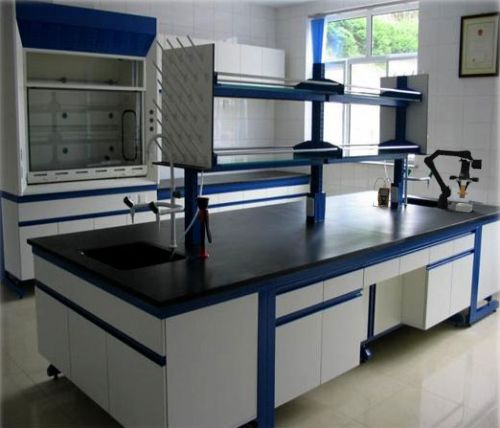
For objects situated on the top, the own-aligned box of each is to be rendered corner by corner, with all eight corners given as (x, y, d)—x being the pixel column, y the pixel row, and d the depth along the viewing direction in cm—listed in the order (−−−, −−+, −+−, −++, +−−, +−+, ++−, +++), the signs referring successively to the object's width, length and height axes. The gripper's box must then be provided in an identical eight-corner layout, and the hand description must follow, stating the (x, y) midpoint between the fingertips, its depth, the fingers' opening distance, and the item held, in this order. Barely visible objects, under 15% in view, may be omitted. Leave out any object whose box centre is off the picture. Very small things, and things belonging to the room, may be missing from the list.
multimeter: (371, 207, 387) (373, 178, 383) (372, 205, 396) (374, 177, 392) (393, 209, 383) (395, 180, 379) (394, 206, 392) (396, 178, 388)
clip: (480, 206, 378) (481, 202, 377) (467, 203, 388) (467, 200, 387) (482, 206, 379) (482, 202, 378) (469, 203, 388) (469, 199, 388)
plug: (456, 198, 387) (458, 185, 385) (458, 196, 392) (459, 184, 390) (465, 199, 384) (467, 186, 382) (467, 197, 389) (468, 185, 387)
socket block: (455, 210, 383) (456, 205, 383) (458, 208, 392) (458, 202, 391) (469, 212, 379) (470, 206, 378) (471, 210, 387) (472, 204, 387)
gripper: (448, 168, 381) (446, 190, 384) (477, 170, 372) (475, 193, 375) (452, 166, 391) (449, 189, 394) (480, 169, 381) (477, 191, 385)
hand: (462, 190), depth 387 cm, fingers closed on plug, 3 cm apart
